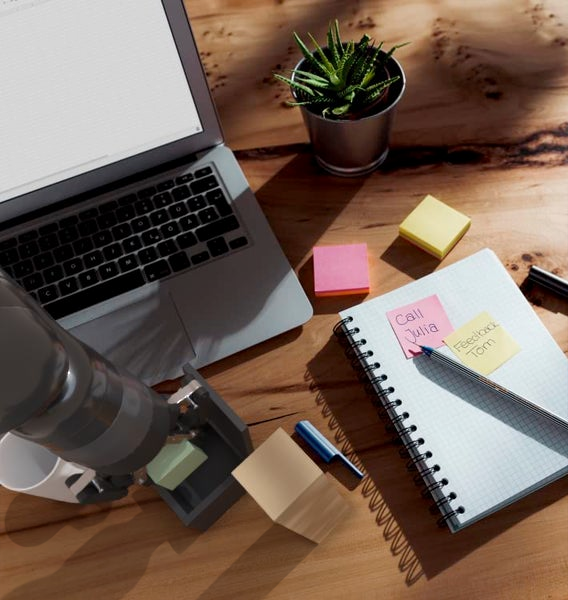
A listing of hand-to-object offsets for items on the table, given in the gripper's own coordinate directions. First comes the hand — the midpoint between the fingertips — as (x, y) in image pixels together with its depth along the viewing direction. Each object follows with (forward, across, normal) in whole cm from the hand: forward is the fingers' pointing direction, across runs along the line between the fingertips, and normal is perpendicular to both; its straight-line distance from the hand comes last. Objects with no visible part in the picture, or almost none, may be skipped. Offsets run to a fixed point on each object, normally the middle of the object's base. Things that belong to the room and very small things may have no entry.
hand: (175, 457), depth 65 cm
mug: (+12, +10, -9) cm, 17 cm away
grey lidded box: (+12, 0, 0) cm, 12 cm away
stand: (+12, -6, +12) cm, 18 cm away
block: (0, 0, 0) cm, 0 cm away
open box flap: (-1, -6, 0) cm, 6 cm away
